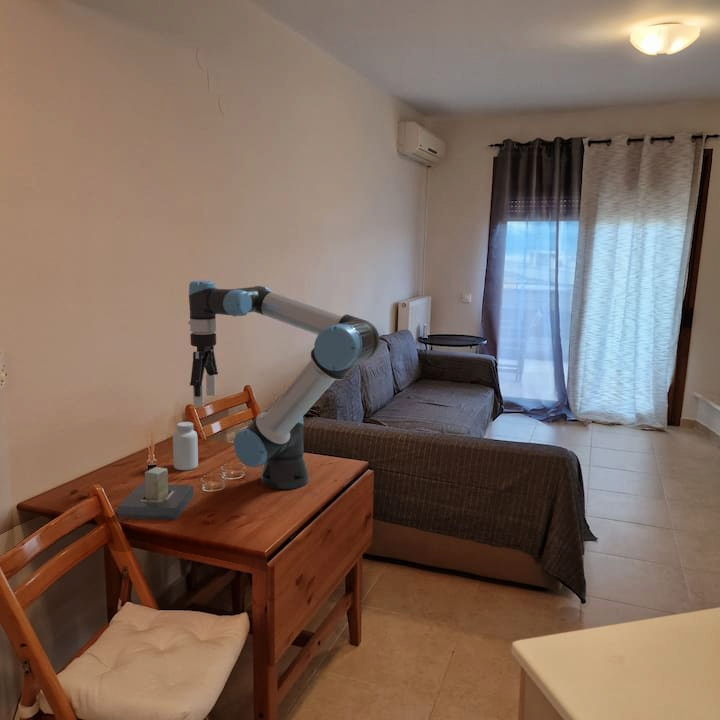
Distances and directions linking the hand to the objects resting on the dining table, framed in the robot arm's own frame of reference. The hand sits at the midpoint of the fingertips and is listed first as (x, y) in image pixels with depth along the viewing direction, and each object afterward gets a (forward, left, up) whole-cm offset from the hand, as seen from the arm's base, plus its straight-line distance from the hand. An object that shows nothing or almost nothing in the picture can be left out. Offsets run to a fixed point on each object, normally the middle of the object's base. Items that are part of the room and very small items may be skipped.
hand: (205, 400), depth 191 cm
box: (+9, +19, -27) cm, 34 cm away
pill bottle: (+11, -13, -27) cm, 32 cm away
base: (+9, +19, -27) cm, 34 cm away
